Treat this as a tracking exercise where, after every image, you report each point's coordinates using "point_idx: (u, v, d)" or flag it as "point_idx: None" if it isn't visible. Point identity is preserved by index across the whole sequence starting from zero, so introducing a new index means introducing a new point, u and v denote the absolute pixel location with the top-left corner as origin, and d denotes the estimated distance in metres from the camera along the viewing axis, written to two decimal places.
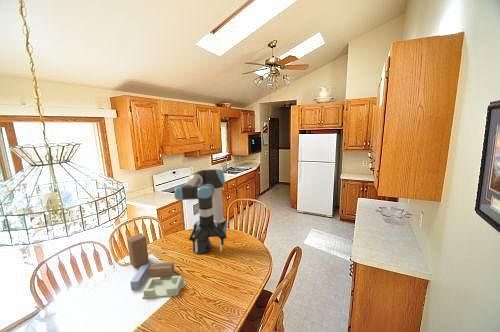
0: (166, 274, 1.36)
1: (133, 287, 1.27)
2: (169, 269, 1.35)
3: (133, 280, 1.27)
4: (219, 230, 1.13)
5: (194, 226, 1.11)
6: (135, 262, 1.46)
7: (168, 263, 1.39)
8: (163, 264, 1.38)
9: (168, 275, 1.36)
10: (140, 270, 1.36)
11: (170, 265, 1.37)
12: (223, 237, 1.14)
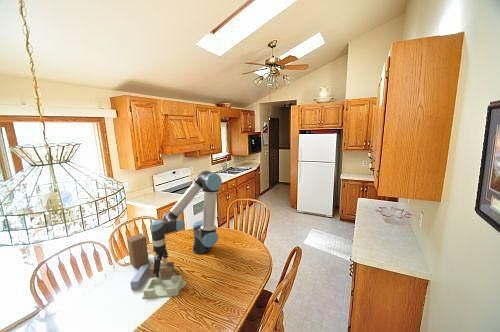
0: (166, 274, 1.36)
1: (133, 287, 1.27)
2: (169, 269, 1.35)
3: (133, 280, 1.27)
4: None
5: None
6: (135, 262, 1.46)
7: (168, 263, 1.39)
8: (163, 264, 1.38)
9: (168, 275, 1.36)
10: (140, 270, 1.36)
11: (170, 265, 1.37)
12: None
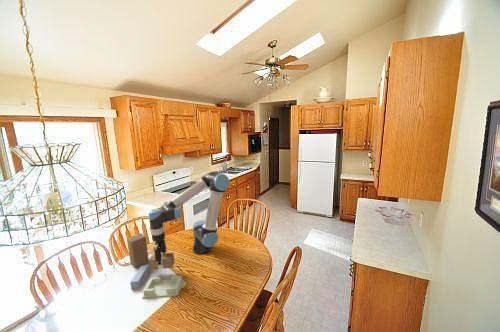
0: (166, 265, 1.35)
1: (133, 287, 1.27)
2: (168, 260, 1.34)
3: (133, 280, 1.27)
4: (155, 252, 1.30)
5: None
6: (135, 262, 1.46)
7: (168, 254, 1.39)
8: (163, 255, 1.38)
9: (168, 266, 1.35)
10: (140, 270, 1.36)
11: (170, 256, 1.36)
12: None
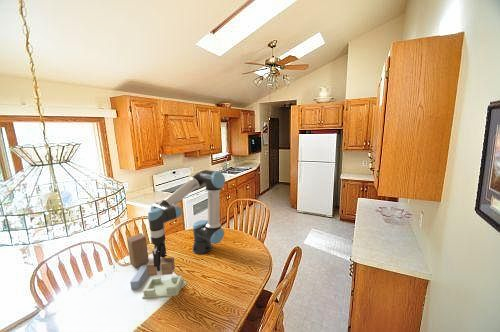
0: (166, 271, 1.21)
1: (133, 287, 1.27)
2: (168, 265, 1.21)
3: (133, 280, 1.27)
4: None
5: None
6: (135, 262, 1.46)
7: (167, 259, 1.25)
8: (162, 260, 1.24)
9: (167, 272, 1.21)
10: (140, 270, 1.36)
11: (170, 261, 1.23)
12: None
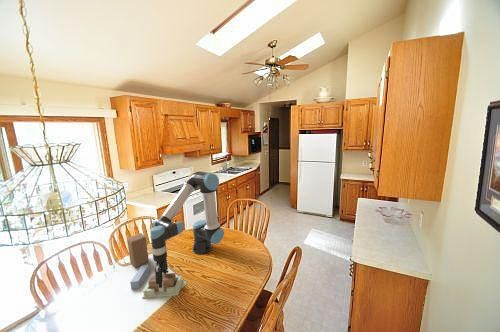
0: None
1: (133, 287, 1.27)
2: (170, 281, 1.23)
3: (133, 280, 1.27)
4: None
5: None
6: (135, 262, 1.46)
7: (169, 274, 1.27)
8: (164, 276, 1.26)
9: None
10: (140, 270, 1.36)
11: (171, 277, 1.25)
12: None
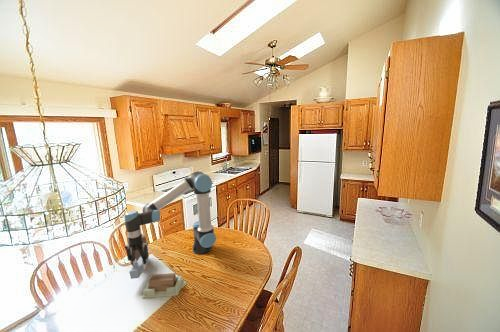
0: None
1: (132, 277, 1.26)
2: (170, 281, 1.23)
3: (132, 270, 1.26)
4: (144, 250, 1.31)
5: (125, 248, 1.29)
6: None
7: (169, 274, 1.27)
8: (164, 276, 1.26)
9: None
10: (139, 260, 1.35)
11: (171, 277, 1.25)
12: (145, 258, 1.32)
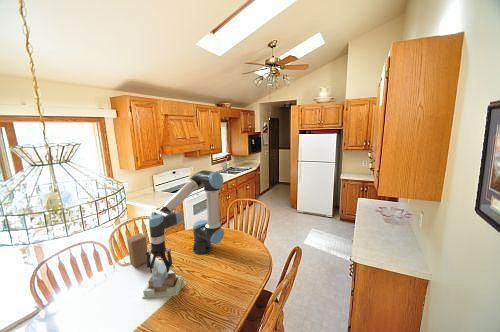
0: None
1: (156, 285, 1.17)
2: (170, 281, 1.23)
3: (156, 277, 1.17)
4: None
5: (146, 254, 1.20)
6: (135, 262, 1.46)
7: (169, 274, 1.27)
8: None
9: None
10: (162, 267, 1.26)
11: (172, 277, 1.25)
12: (168, 265, 1.23)
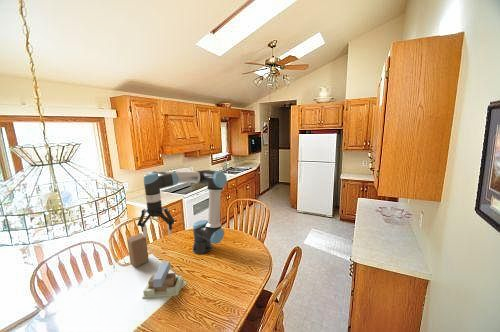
0: None
1: (155, 285, 1.17)
2: (170, 281, 1.23)
3: (155, 277, 1.17)
4: (166, 215, 1.18)
5: (142, 212, 1.16)
6: (135, 262, 1.46)
7: (169, 274, 1.27)
8: None
9: None
10: (161, 267, 1.26)
11: (171, 277, 1.25)
12: (171, 222, 1.19)
